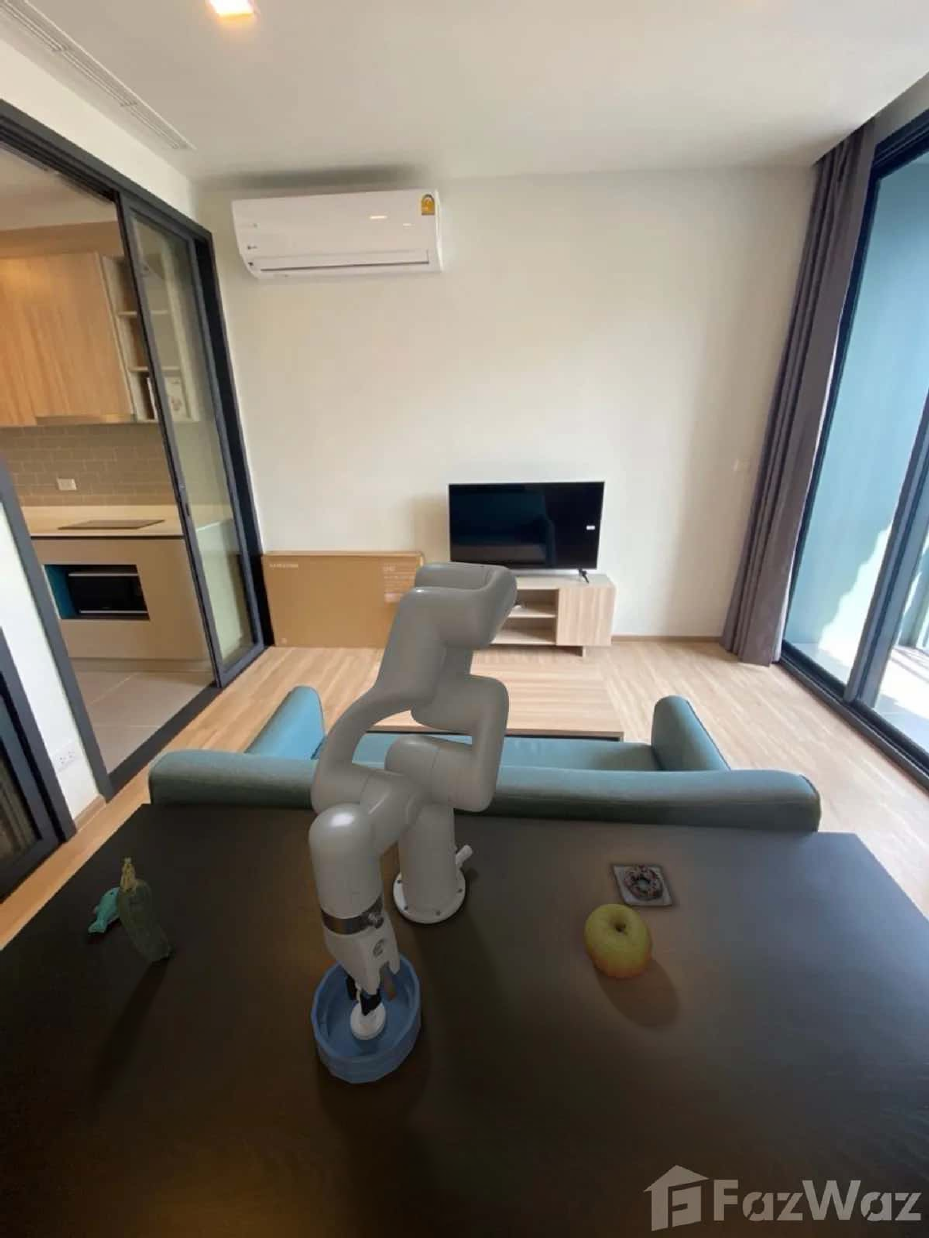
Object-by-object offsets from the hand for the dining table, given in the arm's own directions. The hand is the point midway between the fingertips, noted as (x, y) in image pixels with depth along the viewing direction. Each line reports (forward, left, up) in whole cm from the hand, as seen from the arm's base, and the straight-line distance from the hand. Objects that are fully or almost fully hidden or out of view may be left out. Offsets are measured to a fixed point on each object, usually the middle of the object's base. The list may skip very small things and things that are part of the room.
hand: (366, 997), depth 67 cm
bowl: (0, 0, -5) cm, 5 cm away
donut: (-45, +20, -5) cm, 50 cm away
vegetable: (+16, -32, -5) cm, 36 cm away
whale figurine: (+18, -46, -5) cm, 50 cm away
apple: (-30, +22, -5) cm, 38 cm away
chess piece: (0, 0, -5) cm, 5 cm away
